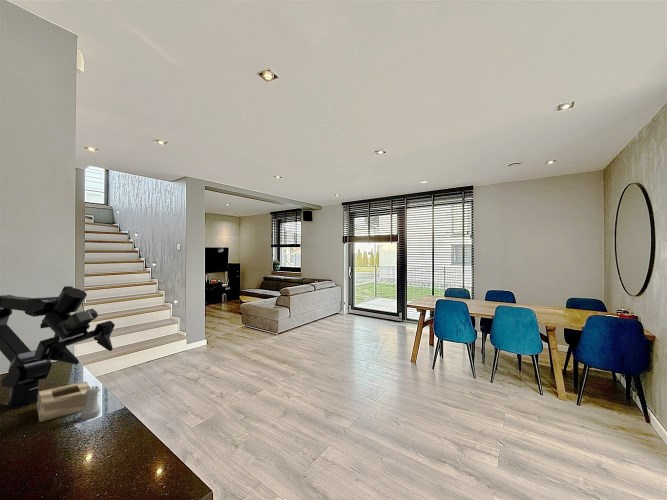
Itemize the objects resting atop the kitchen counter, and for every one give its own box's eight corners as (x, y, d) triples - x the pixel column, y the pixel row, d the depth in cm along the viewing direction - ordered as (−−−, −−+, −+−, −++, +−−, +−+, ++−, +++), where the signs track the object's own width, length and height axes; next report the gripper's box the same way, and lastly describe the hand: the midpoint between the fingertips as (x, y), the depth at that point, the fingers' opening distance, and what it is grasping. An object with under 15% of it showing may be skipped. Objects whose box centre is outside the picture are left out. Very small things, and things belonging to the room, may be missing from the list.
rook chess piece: (88, 421, 79) (91, 391, 80) (75, 418, 80) (79, 389, 81) (103, 413, 83) (106, 385, 84) (92, 411, 84) (95, 383, 85)
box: (36, 408, 85) (38, 391, 85) (84, 397, 93) (86, 381, 93) (39, 421, 77) (42, 403, 78) (91, 408, 86) (93, 391, 86)
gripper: (31, 313, 77) (66, 348, 73) (104, 297, 94) (135, 325, 91) (21, 343, 79) (54, 379, 76) (94, 322, 97) (123, 350, 93)
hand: (95, 356), depth 84 cm, fingers open, 9 cm apart
